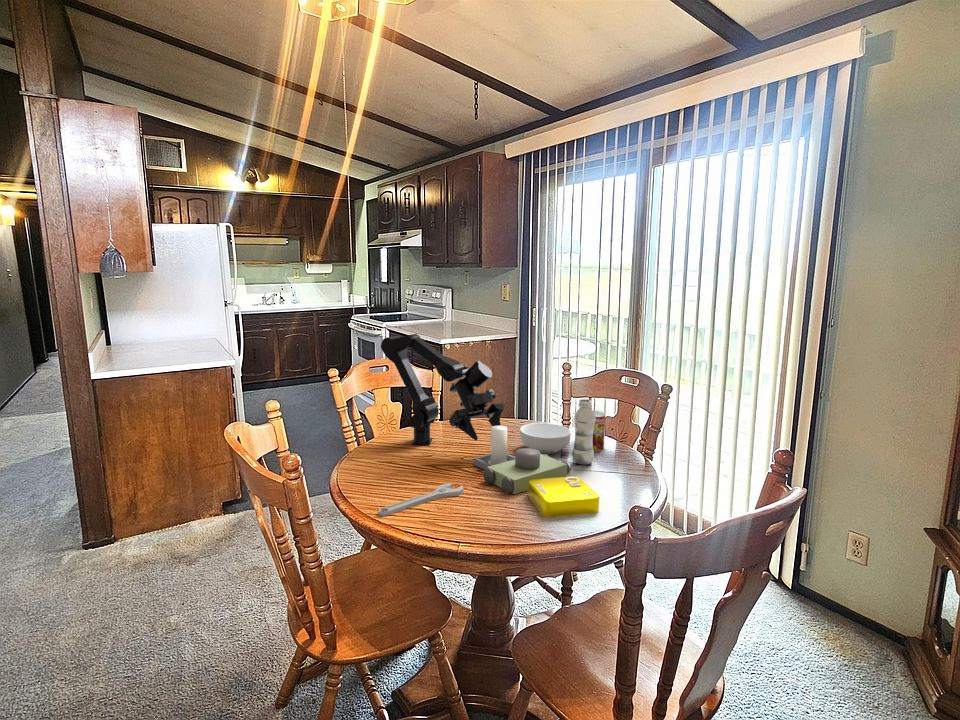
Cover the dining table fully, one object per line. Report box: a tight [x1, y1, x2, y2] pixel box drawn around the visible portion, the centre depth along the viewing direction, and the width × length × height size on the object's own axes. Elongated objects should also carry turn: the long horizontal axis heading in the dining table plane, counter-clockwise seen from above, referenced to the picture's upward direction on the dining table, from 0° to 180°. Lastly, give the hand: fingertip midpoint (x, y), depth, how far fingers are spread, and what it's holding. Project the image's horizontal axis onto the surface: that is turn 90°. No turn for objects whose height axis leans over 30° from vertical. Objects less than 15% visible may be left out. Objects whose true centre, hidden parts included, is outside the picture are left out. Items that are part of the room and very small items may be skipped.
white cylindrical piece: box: [487, 425, 508, 465], centre depth 165 cm, size 6×6×12 cm
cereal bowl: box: [519, 422, 571, 454], centre depth 181 cm, size 17×17×7 cm
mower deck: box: [473, 447, 571, 495], centre depth 160 cm, size 24×22×8 cm
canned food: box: [592, 410, 606, 453], centre depth 182 cm, size 8×8×12 cm
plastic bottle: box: [571, 398, 596, 466], centre depth 167 cm, size 6×7×20 cm
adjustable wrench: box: [378, 482, 465, 517], centre depth 141 cm, size 25×6×2 cm, turn 126°
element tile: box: [527, 475, 600, 518], centre depth 140 cm, size 15×15×5 cm
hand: (488, 437), depth 169 cm, fingers open, 9 cm apart
